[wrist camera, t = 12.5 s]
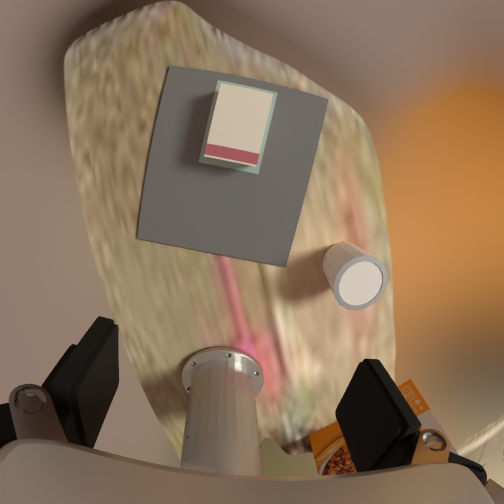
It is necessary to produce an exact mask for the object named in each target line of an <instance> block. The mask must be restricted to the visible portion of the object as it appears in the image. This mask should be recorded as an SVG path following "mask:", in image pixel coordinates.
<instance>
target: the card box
mask: <svg viewBox="0 0 504 504" xmlns="http://www.w3.org/2000/svg"><path fill="white" fill-rule="evenodd" d="M272 98H273V94H271V93H266V92H262V91H258V90H253V89H248V88H244V87H239V86H233V85H228V84H223V83H221V85H220V89H219V93H218V97H217V101H216V105H215V110H214V114H213V118H212V122H211V127H210V131H209V136H208V140H207V144H206V149H205V154H204V156H205V157H210V158H216V159H221V160H226V161H231V162H236V163H241V164H245V165H250V166H255V167H256V166H257V162H258V158H259V153H260V149H261V145H262V140H263V136H264V132H265V128H266V123H267V119H268V115H269V111H270V106H271V102H272Z"/></svg>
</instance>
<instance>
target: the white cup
mask: <svg viewBox="0 0 504 504" xmlns="http://www.w3.org/2000/svg"><path fill="white" fill-rule="evenodd" d="M322 264H323V271H324V273H325V275H326V278H327V280H328V282H329V285H330V287H331V289H332V292H333V294H334V296H335V298H336V300H337V301H338V303H339V304H340V305H342V306H343V307H345V308H346V309H351V310H360V309H363V308H367V307H369V306H370V305H372V304H373V303H375V302H376V301H377V300H378V299H379V298H380V296H381V295H382V294H383V293H384V290H385V287H386V284H387V270H386V268H385V266H384V264H383V263H382V262H381V261H380V260H378V259H377V258H376V257H374V256H373V255H371V254H369V253H368V252H366V251H364V250H363V249H361V248H359V247H358V246H356V245H354V244H352V243H349V242H341V243H336V244H335V245H333V246H332V247H330V248H329V249H328V251H327V252H326V253H325V255H324V258H323V262H322Z"/></svg>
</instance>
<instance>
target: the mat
mask: <svg viewBox="0 0 504 504" xmlns="http://www.w3.org/2000/svg"><path fill="white" fill-rule="evenodd" d="M221 83H223V84H228V85H233V86H239V87H244V88H248V89H253V90H258V91H262V92H266V93H271V94H273V98H272V102H271V106H270V111H269V115H268V119H267V123H266V128H265V132H264V136H263V140H262V145H261V149H260V153H259V158H258V162H257V166H256V167H255V166H250V165H245V164H241V163H236V162H231V161H226V160H221V159H216V158H210V157H205V156H204V154H205V149H206V144H207V140H208V136H209V131H210V127H211V122H212V118H213V114H214V110H215V105H216V101H217V97H218V93H219V89H220V85H221ZM327 103H328V99H325V98H322V97H319V96H316V95H312V94H309V93H306V92H302V91H299V90H295V89H291V88H288V87H284V86H280V85H276V84H272V83H268V82H264V81H259V80H255V79H250V78H245V77H241V76H236V75H230V74H225V73H219V72H213V71H207V70H200V69H193V68H186V67H178V66H170V67H169V71H168V74H167V78H166V82H165V86H164V90H163V94H162V98H161V102H160V106H159V111H158V115H157V120H156V124H155V129H154V134H153V139H152V144H151V149H150V154H149V160H148V165H147V171H146V177H145V184H144V190H143V197H142V204H141V211H140V219H139V227H138V236H137V238H139V239H144V240H149V241H154V242H159V243H164V244H169V245H174V246H179V247H184V248H189V249H194V250H200V251H205V252H210V253H215V254H220V255H225V256H231V257H236V258H241V259H246V260H251V261H257V262H262V263H267V264H272V265H278V266H283V267H286V264H287V260H288V257H289V253H290V249H291V246H292V242H293V238H294V235H295V231H296V227H297V224H298V220H299V216H300V212H301V209H302V205H303V201H304V197H305V193H306V189H307V185H308V181H309V178H310V174H311V170H312V166H313V162H314V158H315V153H316V149H317V145H318V141H319V137H320V133H321V129H322V124H323V120H324V116H325V111H326V107H327Z"/></svg>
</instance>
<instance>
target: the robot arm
mask: <svg viewBox="0 0 504 504" xmlns="http://www.w3.org/2000/svg"><path fill="white" fill-rule="evenodd" d="M181 379H182V384H183V386H184V389H185V390H186V391H187V393H188V394H189V398H188V406H187V413H186V421H185V429H184V437H183V445H182V455H181V468H176V467H170V466H165V465H160V464H155V463H150V462H145V461H140V460H136V459H131V458H127V457H123V456H119V455H115V454H112V453H108V452H104V451H100V450H96V449H93V447H94V445H95V442H96V440H97V437H98V435H99V432H100V429H101V427H102V424H103V422H104V419H105V417H106V414H107V412H108V409H109V407H110V405H111V402H112V400H113V397H114V395H115V392H116V390H117V388H118V384H119V364H118V325H116V324H114V320H112V319H108V318H104V317H101V316H99V317H98V318H97V319H96V320H95V321H94V323H93V324H92V325H91V327H90V328H89V329H88V331H87V332H86V334H85V335H84V336H83V338H82V339H81V340H80V342H79V343H78V344H77V345H75V344H72V345H71V346H70V347H69V348H68V349H67V351H66V352H65V353H64V355H63V356H62V358H61V359H60V360H59V362H58V363H57V364H56V366H55V367H54V369H53V370H52V372H51V373H50V374H49V376H48V377H47V379H46V380H45V382H44V383H43V384H42V386H41V387H40V386H38V385H35V384H24V385H20V386H18V387H16V388H14V390H13V391H12V392H11V393H10V396H9V403H6V404H0V504H504V488H503V487H501V486H500V485H499V484H497V483H496V482H494V481H493V480H491V479H489V480H488V481H487V474H486V472H485V470H484V468H483V467H482V466H481V465H480V464H478V463H476V462H474V461H471V460H469V459H466V458H464V457H462V456H459V455H457V454H455V453H453V452H450V451H449V450H450V443H449V441H448V439H447V437H446V436H445V435H444V434H443V433H441V432H439V431H437V430H434V429H425V430H423V431H422V432H420V430H419V429H420V427H421V426H422V424H421V422H420V421H419V419H418V418H417V416H416V415H415V413H414V412H413V410H412V408H411V407H410V405H409V404H408V402H407V401H406V399H405V398H404V396H403V395H402V393H401V392H400V390H399V389H398V387H397V386H396V384H395V383H394V381H393V380H392V378H391V377H390V375H389V374H388V372H387V371H386V369H385V368H384V366H383V365H382V363H381V362H380V361H379V360H378V359H364V360H363V362H360V363H359V365H358V367H357V369H356V371H355V373H354V375H353V377H352V379H351V381H350V383H349V385H348V387H347V389H346V391H345V393H344V395H343V397H342V399H341V401H340V403H339V405H338V407H337V409H336V418H337V421H338V424H339V426H340V429H341V431H342V434H343V437H344V439H345V442H346V444H347V447H348V450H349V452H350V455H351V458H352V460H353V463H354V466H355V468H356V471H357V473H349V474H338V475H324V476H301V477H268V476H267V477H266V476H263V470H262V461H261V451H260V442H259V432H258V422H257V412H256V402H255V397H256V396H257V395H258V393H259V392H260V390H261V388H262V386H263V372H262V369H261V367H260V365H259V363H258V362H257V361H256V360H255V359H254V358H253V357H252V356H251V355H249V354H247V353H245V352H244V351H241V350H238V349H234V348H229V347H212V348H208V349H204V350H201V351H199V352H197V353H195V354H194V355H192V356H191V357H190V358H189V359H188V360H187V361H186V363H185V365H184V366H183V370H182V376H181Z"/></svg>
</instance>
